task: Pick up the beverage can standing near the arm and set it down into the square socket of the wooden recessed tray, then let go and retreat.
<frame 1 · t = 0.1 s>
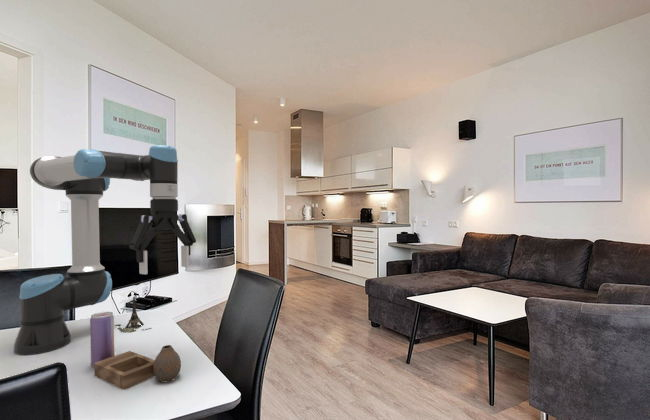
hand: (165, 270, 108), 28 cm above the table, fingers open, 13 cm apart
vase: (167, 379, 99), on the table
wooden recessed tray: (127, 374, 101), on the table
eiffel tower figurine: (133, 328, 142), on the table
beverage can: (102, 365, 108), on the table
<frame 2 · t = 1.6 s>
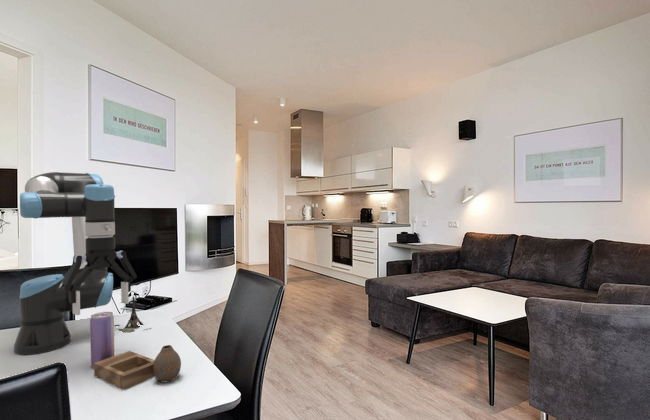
hand: (102, 308, 108), 17 cm above the table, fingers open, 13 cm apart
nothing on the table moved.
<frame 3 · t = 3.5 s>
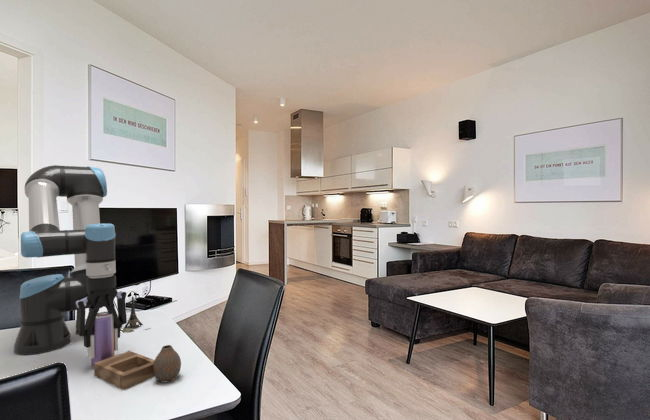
hand: (102, 353, 108), 3 cm above the table, fingers closed on beverage can, 6 cm apart
beverage can: (103, 365, 108), on the table, touching gripper
everything else where it was.
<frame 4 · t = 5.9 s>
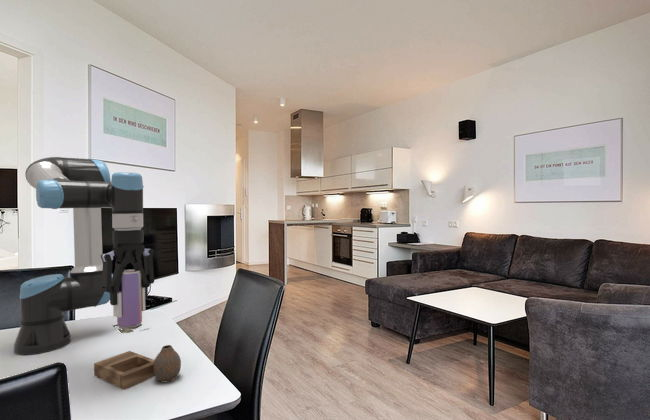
hand: (129, 313, 100), 18 cm above the table, fingers closed on beverage can, 6 cm apart
beverage can: (129, 326, 100), point 14 cm above the table, touching gripper
everything else where it was.
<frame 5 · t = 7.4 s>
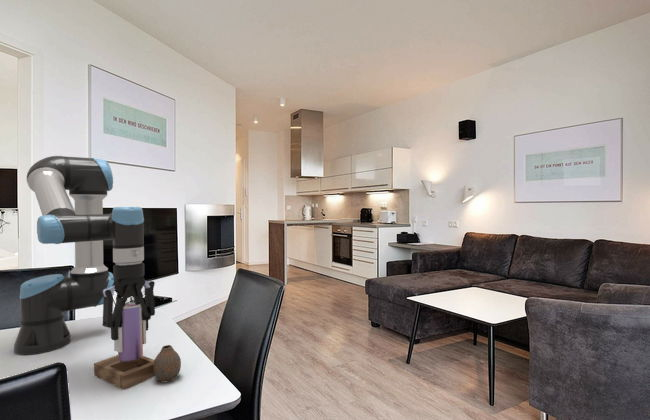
hand: (130, 346, 100), 8 cm above the table, fingers closed on beverage can, 6 cm apart
beverage can: (130, 359, 100), point 5 cm above the table, touching gripper
everything else where it was.
when the fingers open (5 cm above the table, at t = 8.4 s): beverage can drops 1 cm, resting on wooden recessed tray.
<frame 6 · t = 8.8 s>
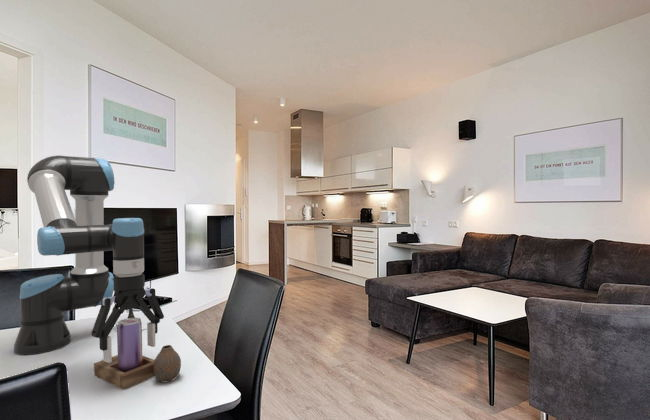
hand: (130, 353, 100), 6 cm above the table, fingers open, 11 cm apart
beverage can: (130, 375, 100), resting on wooden recessed tray
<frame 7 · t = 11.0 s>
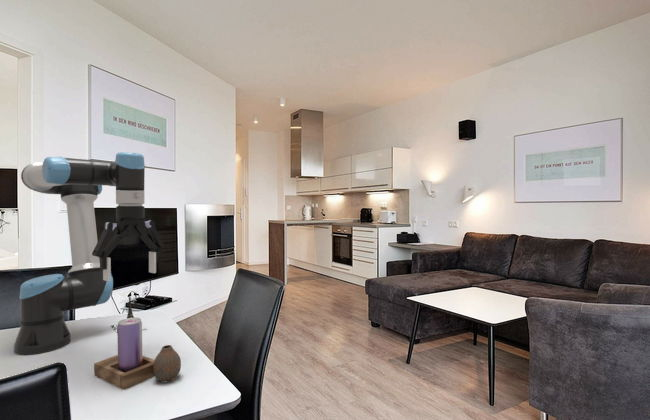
hand: (130, 276, 108), 26 cm above the table, fingers open, 13 cm apart
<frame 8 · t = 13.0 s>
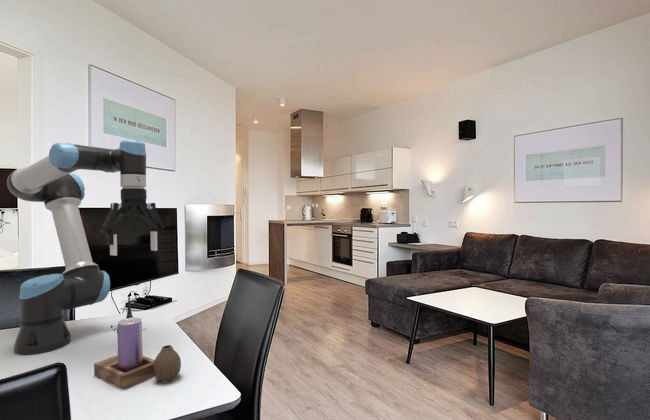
hand: (134, 252, 119), 32 cm above the table, fingers open, 13 cm apart
at the end: beverage can 0.1 cm from the target spot on the wooden recessed tray, point 0.3 cm above the wooden recessed tray's base; beverage can tilted 0°; the gripper is holding nothing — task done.
